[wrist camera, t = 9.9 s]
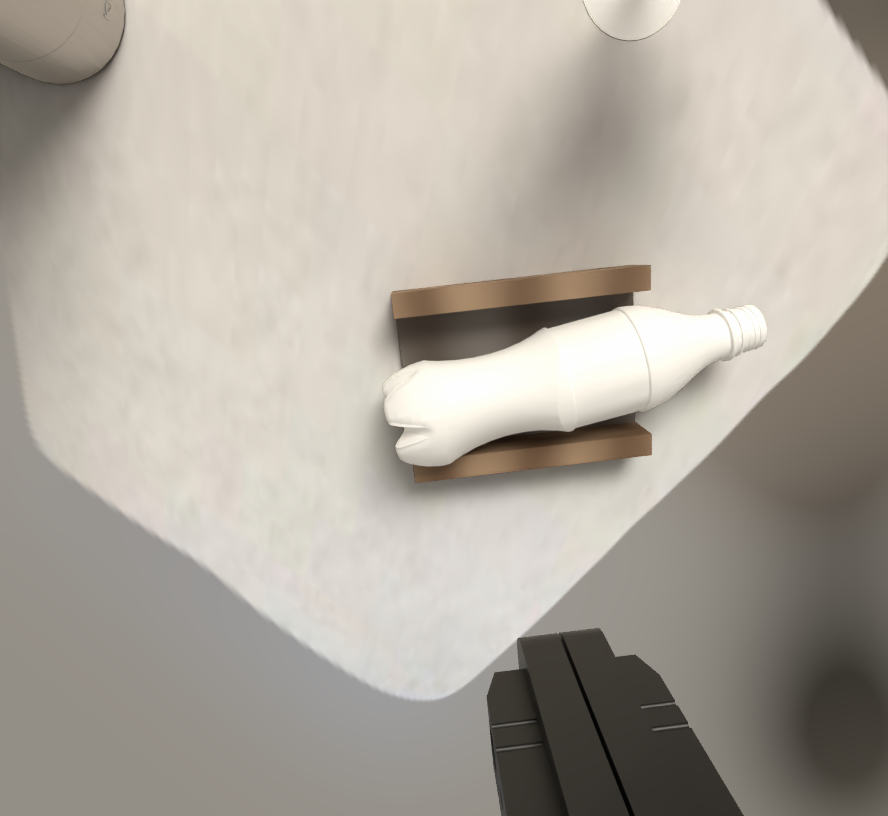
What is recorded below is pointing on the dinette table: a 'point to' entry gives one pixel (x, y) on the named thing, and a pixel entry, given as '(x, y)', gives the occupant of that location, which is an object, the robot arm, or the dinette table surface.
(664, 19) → the champagne flute
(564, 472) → the dinette table surface
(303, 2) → the dinette table surface
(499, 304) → the walnut cradle
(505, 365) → the water bottle
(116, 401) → the dinette table surface
